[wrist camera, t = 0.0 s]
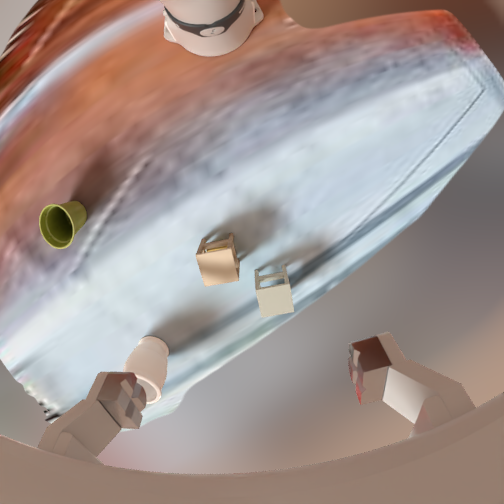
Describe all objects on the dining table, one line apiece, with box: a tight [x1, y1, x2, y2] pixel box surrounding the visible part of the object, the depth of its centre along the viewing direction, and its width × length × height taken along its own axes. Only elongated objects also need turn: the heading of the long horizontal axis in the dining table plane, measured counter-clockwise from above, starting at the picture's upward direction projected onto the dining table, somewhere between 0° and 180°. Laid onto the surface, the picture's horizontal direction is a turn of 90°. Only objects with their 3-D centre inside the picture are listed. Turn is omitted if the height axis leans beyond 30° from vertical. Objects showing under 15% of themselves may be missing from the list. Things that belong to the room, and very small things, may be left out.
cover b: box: [255, 265, 294, 317], centre depth 59 cm, size 6×6×8 cm
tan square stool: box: [196, 233, 240, 286], centre depth 56 cm, size 6×6×8 cm
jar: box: [123, 336, 169, 404], centre depth 64 cm, size 11×10×15 cm
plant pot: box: [39, 201, 87, 249], centre depth 52 cm, size 9×9×9 cm
